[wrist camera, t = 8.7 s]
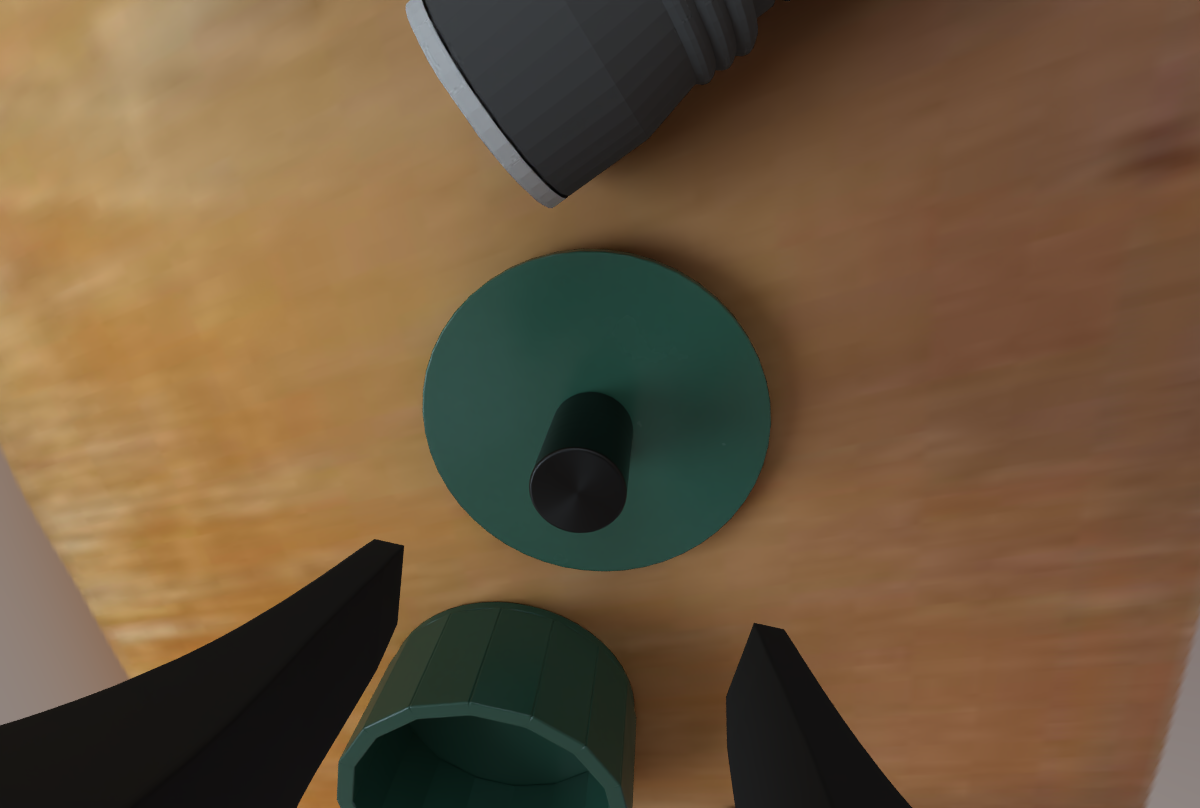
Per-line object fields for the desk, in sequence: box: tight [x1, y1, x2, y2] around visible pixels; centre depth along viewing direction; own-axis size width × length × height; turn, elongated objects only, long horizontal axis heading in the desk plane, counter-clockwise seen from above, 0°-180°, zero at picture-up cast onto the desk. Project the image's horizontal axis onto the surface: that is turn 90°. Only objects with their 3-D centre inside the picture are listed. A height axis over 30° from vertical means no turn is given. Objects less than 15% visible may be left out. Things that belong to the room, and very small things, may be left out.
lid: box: [423, 249, 771, 571], centre depth 19 cm, size 11×11×5 cm
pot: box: [337, 602, 636, 808], centre depth 24 cm, size 10×10×5 cm
